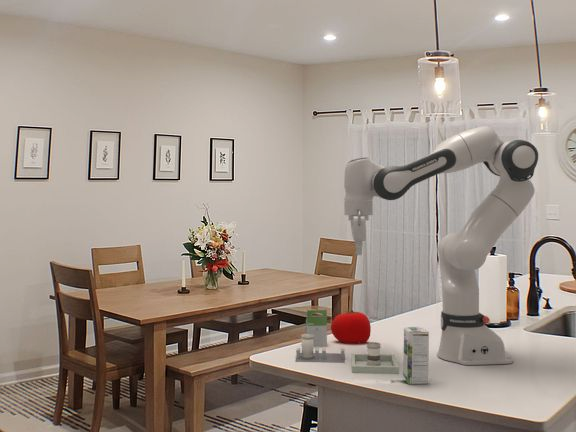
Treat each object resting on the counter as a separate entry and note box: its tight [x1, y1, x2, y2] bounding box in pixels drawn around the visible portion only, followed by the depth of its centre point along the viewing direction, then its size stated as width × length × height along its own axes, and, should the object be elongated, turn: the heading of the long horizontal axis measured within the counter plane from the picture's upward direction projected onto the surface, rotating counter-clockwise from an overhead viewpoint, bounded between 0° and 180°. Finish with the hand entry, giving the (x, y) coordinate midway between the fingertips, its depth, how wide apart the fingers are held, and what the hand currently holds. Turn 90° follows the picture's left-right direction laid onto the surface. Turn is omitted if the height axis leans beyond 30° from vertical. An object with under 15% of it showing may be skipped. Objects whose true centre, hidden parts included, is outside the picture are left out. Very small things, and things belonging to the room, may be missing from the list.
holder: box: [294, 332, 346, 364], centre depth 177 cm, size 15×10×8 cm, turn 84°
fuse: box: [366, 341, 381, 366], centre depth 168 cm, size 4×4×7 cm
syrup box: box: [402, 326, 430, 385], centre depth 157 cm, size 6×6×14 cm
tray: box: [350, 353, 399, 375], centre depth 168 cm, size 13×13×3 cm
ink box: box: [305, 309, 328, 348], centre depth 192 cm, size 7×4×13 cm, turn 92°
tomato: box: [330, 309, 372, 345], centre depth 198 cm, size 12×14×11 cm
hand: (358, 253), depth 180 cm, fingers open, 8 cm apart
